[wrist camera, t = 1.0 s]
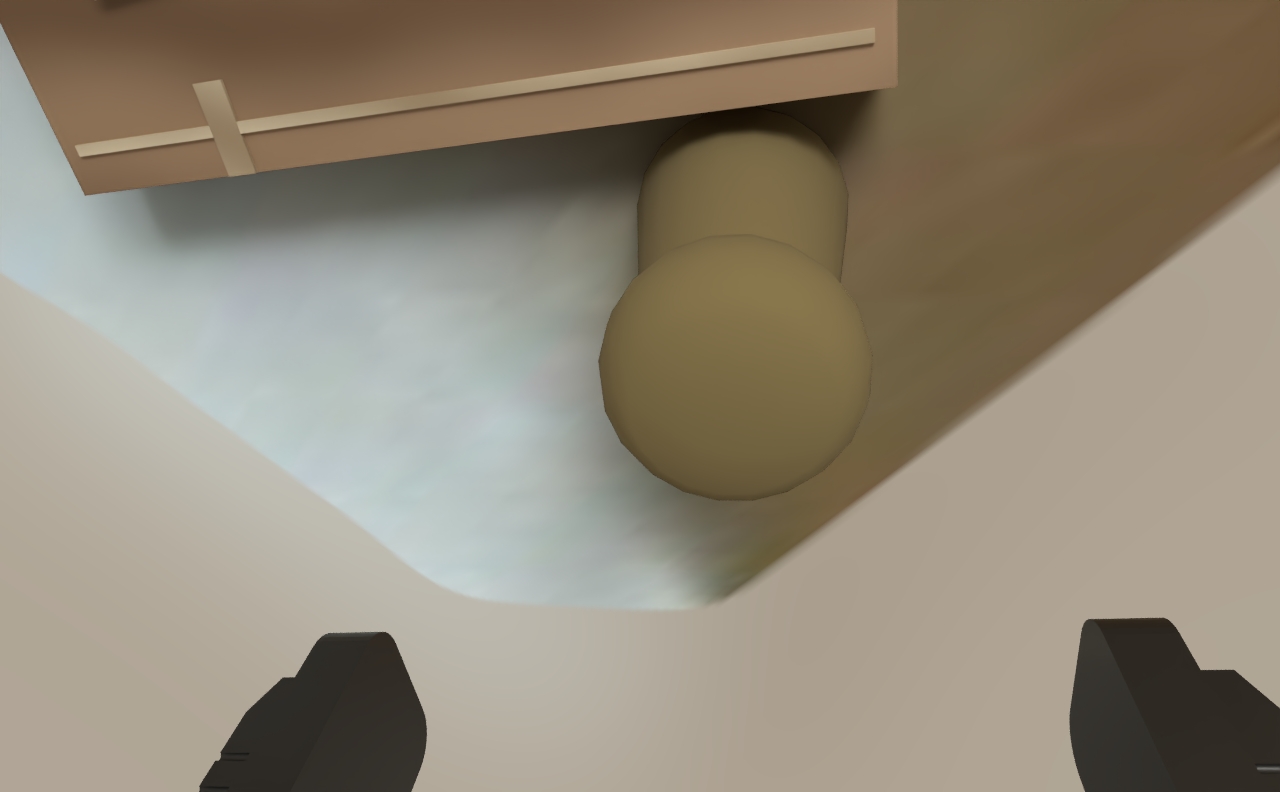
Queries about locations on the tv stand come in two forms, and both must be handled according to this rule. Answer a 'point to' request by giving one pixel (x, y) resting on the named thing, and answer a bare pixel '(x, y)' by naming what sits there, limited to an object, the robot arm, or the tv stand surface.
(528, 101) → the walnut board
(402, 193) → the tv stand surface
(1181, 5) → the tv stand surface
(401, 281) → the tv stand surface
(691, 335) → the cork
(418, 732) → the robot arm
